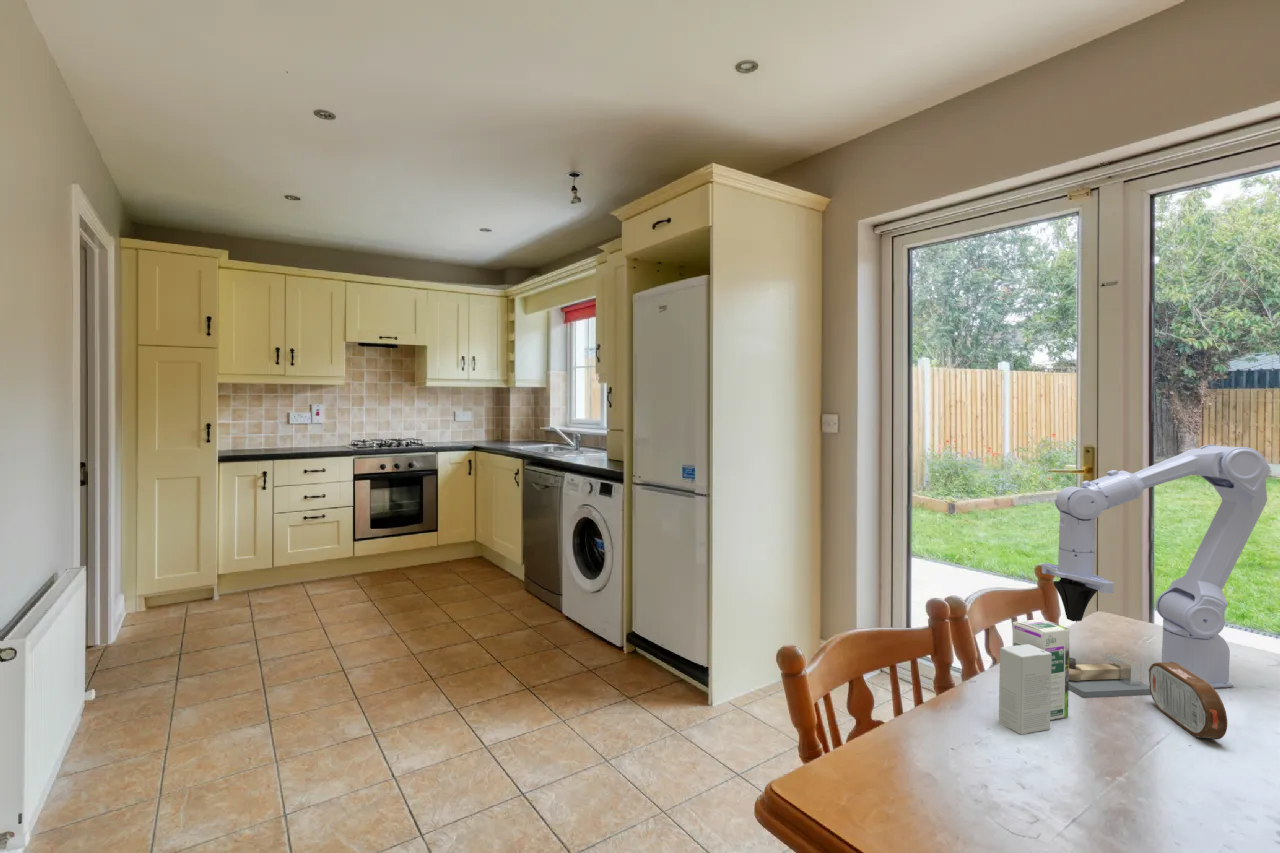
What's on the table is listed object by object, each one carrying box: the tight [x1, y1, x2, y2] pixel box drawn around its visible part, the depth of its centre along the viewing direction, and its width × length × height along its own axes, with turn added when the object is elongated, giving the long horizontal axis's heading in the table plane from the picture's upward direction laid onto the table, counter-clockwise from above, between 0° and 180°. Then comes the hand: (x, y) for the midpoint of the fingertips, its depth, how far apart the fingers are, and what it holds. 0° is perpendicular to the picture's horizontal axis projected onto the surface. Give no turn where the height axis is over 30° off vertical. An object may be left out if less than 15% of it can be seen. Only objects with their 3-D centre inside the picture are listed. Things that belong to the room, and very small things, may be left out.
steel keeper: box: [1104, 653, 1142, 686], centre depth 113 cm, size 2×5×4 cm, turn 7°
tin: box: [1148, 661, 1228, 740], centre depth 99 cm, size 15×3×8 cm, turn 168°
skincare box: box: [998, 644, 1052, 735], centre depth 97 cm, size 6×4×12 cm
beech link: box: [1069, 656, 1121, 681], centre depth 113 cm, size 12×3×3 cm, turn 97°
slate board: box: [1068, 663, 1152, 699], centre depth 114 cm, size 14×11×1 cm
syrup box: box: [1011, 618, 1070, 721], centre depth 102 cm, size 6×6×14 cm
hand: (1074, 620), depth 120 cm, fingers closed
